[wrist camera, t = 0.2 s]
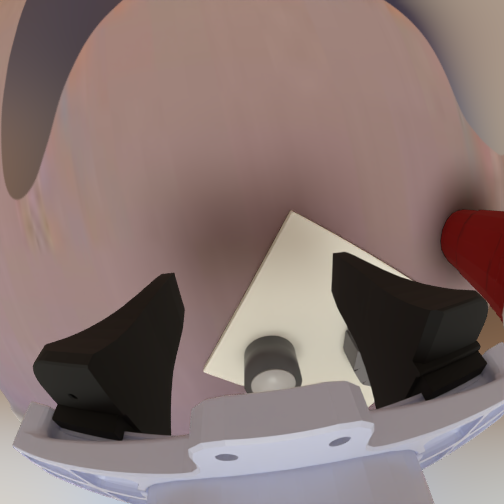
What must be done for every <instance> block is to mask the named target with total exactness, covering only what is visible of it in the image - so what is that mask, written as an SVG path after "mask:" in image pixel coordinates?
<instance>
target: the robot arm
mask: <svg viewBox="0 0 504 504" xmlns="http://www.w3.org/2000/svg"><path fill="white" fill-rule="evenodd" d="M331 292H332V295H333V298H334V300H335V303H336V306H337V308H338V310H339V312H340V314H341V316H342V318H343V320H344V322H345V323H346V325H347V327H348V329H349V331H350V333H351V335H352V337H353V339H354V340H355V342H356V345H357V347H358V349H359V352H360V354H361V357H362V360H363V363H364V366H365V369H366V372H367V375H368V379H369V382H370V386H371V389H372V393H373V397H374V401H375V406H376V409H375V410H369V409H368V406H367V404H366V401H365V399H364V396H363V394H362V391H361V389H360V386H357V385H355V384H353V383H350V382H348V381H330V382H321V383H316V384H311V385H306V386H300V387H294V388H287V389H280V390H273V391H265V392H256V393H247V394H235V395H224V396H220V397H215V398H210V399H206V400H204V401H202V402H201V403H199V404H198V405H197V406H195V407H194V408H193V409H192V411H191V422H190V433H189V434H187V435H180V436H171V390H172V378H173V370H174V364H175V360H176V355H177V351H178V347H179V342H180V338H181V334H182V329H183V322H184V311H185V309H184V305H183V302H182V299H181V295H180V292H179V288H178V285H177V281H176V278H175V274H174V273H168V274H161V275H160V276H158V277H157V278H156V279H155V280H153V281H152V282H151V283H150V284H149V285H148V286H147V287H145V288H144V289H143V290H142V291H141V292H140V293H139V294H137V295H136V296H135V297H134V298H133V299H131V300H130V301H129V302H128V303H126V304H125V305H124V306H123V307H121V308H120V309H119V310H117V311H116V312H115V313H113V314H112V315H110V316H109V317H107V318H105V319H104V320H102V321H100V322H99V323H97V324H95V325H93V326H91V327H90V328H88V329H86V330H84V331H81V332H79V333H77V334H75V335H72V336H70V337H67V338H65V339H62V340H59V341H56V342H52V343H49V344H46V345H45V346H44V348H43V349H42V351H41V352H40V354H39V356H38V357H37V359H36V361H35V362H34V365H33V371H34V374H35V376H36V378H37V380H38V381H39V383H40V384H41V385H42V387H43V388H44V389H45V390H46V391H47V393H48V394H49V395H50V396H51V397H52V398H53V400H54V401H55V402H56V403H57V404H58V405H57V407H56V409H55V410H54V409H53V408H51V407H49V406H46V405H43V404H39V403H36V402H31V403H30V405H29V407H28V409H27V412H26V414H25V416H24V418H23V421H22V423H21V425H20V428H19V430H18V432H17V435H16V437H15V440H14V443H13V448H14V449H16V450H17V451H18V452H19V453H21V454H22V455H23V456H25V457H26V458H27V459H29V460H30V461H31V462H33V463H34V464H36V465H37V466H38V467H40V468H41V469H43V470H44V471H46V472H47V473H49V474H50V475H52V476H54V477H56V478H59V479H61V480H64V481H66V482H68V483H71V484H73V485H76V486H79V487H81V488H84V489H87V490H89V491H92V492H95V493H98V494H101V495H104V496H107V497H110V498H113V499H116V500H120V501H124V502H127V503H131V504H434V501H433V499H432V496H431V493H430V490H429V487H428V485H427V482H426V479H425V477H424V474H423V471H422V470H423V469H425V468H426V467H428V466H430V465H432V464H434V463H435V462H437V461H439V460H441V459H442V458H444V457H446V456H447V455H449V454H450V453H452V452H454V451H455V450H457V449H458V448H460V447H461V446H463V445H464V444H466V443H467V442H469V441H470V440H472V439H473V438H474V437H475V436H477V435H478V434H480V433H481V432H482V431H484V430H485V429H487V428H488V427H489V426H491V425H492V424H493V423H495V422H496V421H497V420H498V419H500V418H501V417H502V416H503V415H504V343H503V342H500V343H499V344H497V345H495V346H494V347H492V348H490V349H488V350H487V351H486V352H485V353H484V354H483V355H481V354H480V353H479V351H478V350H479V349H480V344H479V343H478V342H477V341H476V340H477V338H478V336H479V334H480V332H481V330H482V327H483V325H484V323H485V320H486V317H487V313H488V304H487V302H486V300H485V299H484V298H483V297H482V296H481V295H480V294H479V293H478V292H476V291H473V290H456V289H448V288H441V287H435V286H431V285H426V284H422V283H418V282H415V281H412V280H409V279H406V278H403V277H400V276H397V275H395V274H392V273H390V272H388V271H386V270H383V269H381V268H379V267H377V266H375V265H373V264H371V263H369V262H367V261H365V260H363V259H361V258H359V257H357V256H355V255H353V254H350V253H348V252H338V253H333V261H332V285H331Z"/></svg>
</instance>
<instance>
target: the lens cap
mask: <svg viewBox="0 0 504 504" xmlns="http://www.w3.org/2000/svg"><path fill="white" fill-rule="evenodd" d="M301 384H302V376H301V372H300V368H299V364H298V360H297V356H296V352H295V348H294V346H293V345H292V343H291V342H290V341H288V340H287V339H285V338H283V337H280V336H264V337H260V338H258V339H256V340H254V341H253V342H251V343H250V344H249V345H248V346H247V348H246V350H245V353H244V387H245V390H246V392H247V393H256V392H265V391H273V390H280V389H287V388H294V387H300V386H301Z"/></svg>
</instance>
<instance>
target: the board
mask: <svg viewBox="0 0 504 504" xmlns="http://www.w3.org/2000/svg"><path fill="white" fill-rule="evenodd" d="M338 252H348V253H350V254H353V255H355V256H357V257H359V258H361V259H363V260H365V261H367V262H369V263H371V264H373V265H375V266H377V267H379V268H381V269H383V270H386V271H388V272H390V273H392V274H395V275H397V276H400V277H403V278H406V279H409V280H411V279H410V278H408V277H407V276H405V275H403V274H402V273H400V272H399V271H397V270H395V269H394V268H392V267H391V266H389V265H387V264H386V263H384V262H382V261H381V260H379V259H377V258H376V257H374V256H372V255H371V254H369V253H367V252H365V251H364V250H362V249H360V248H359V247H357V246H355V245H353V244H352V243H350V242H348V241H346V240H345V239H343V238H341V237H339V236H338V235H336V234H334V233H332V232H331V231H329V230H327V229H325V228H323V227H321V226H320V225H318V224H316V223H314V222H312V221H310V220H309V219H307V218H305V217H303V216H301V215H299V214H297V213H295V212H294V211H292V210H290V212H289V214H288V216H287V218H286V220H285V221H284V223H283V225H282V227H281V229H280V231H279V233H278V234H277V236H276V238H275V240H274V242H273V244H272V246H271V247H270V249H269V251H268V253H267V255H266V257H265V258H264V260H263V262H262V264H261V266H260V268H259V269H258V271H257V273H256V275H255V277H254V278H253V280H252V282H251V284H250V286H249V288H248V289H247V291H246V293H245V295H244V297H243V298H242V300H241V302H240V304H239V306H238V307H237V309H236V311H235V313H234V315H233V316H232V318H231V320H230V322H229V324H228V325H227V327H226V329H225V331H224V332H223V334H222V336H221V338H220V340H219V341H218V343H217V345H216V347H215V348H214V350H213V352H212V354H211V356H210V357H209V359H208V361H207V363H206V364H205V366H204V370H203V372H205V373H208V374H210V375H213V376H216V377H219V378H222V379H224V380H227V381H230V382H233V383H236V384H239V385H242V386H244V353H245V350H246V348H247V346H248V345H249V344H250V343H251V342H253V341H254V340H256V339H258V338H260V337H264V336H280V337H283V338H285V339H287V340H288V341H290V342H291V343H292V345H293V346H294V348H295V352H296V356H297V360H298V364H299V368H300V372H301V376H302V384H301V386H306V385H311V384H316V383H321V382H330V381H348V382H350V383H353V384H355V385H357V386H360V389H361V391H362V394H363V396H364V399H365V401H366V404H367V406H368V407H369V406H370V405H371V404H372V403H373V402H374V397H373V393H372V389H371V386H370V382H369V379H368V375H367V372H366V369H365V366H364V363H363V360H362V357H361V354H360V352H359V349H358V347H357V345H356V342H355V340H354V339H353V337H352V335H351V333H350V331H349V329H348V327H347V325H346V323H345V322H344V320H343V318H342V316H341V314H340V312H339V310H338V308H337V306H336V303H335V300H334V298H333V295H332V292H331V285H332V261H333V253H338ZM412 281H413V280H412Z"/></svg>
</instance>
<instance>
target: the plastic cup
mask: <svg viewBox="0 0 504 504" xmlns="http://www.w3.org/2000/svg"><path fill="white" fill-rule="evenodd" d="M441 247H442V251H443V253H444V255H445V257H446V258H447V260H448V261H449V262H450V263H451V264H452V265H453V266H454V267H455V268H456V269H457V270H458V271H459V272H460V274H461V275H462V276H463V277H464V278H465V279H466V280H467V281H468V282H469V283H470V284H471V285H472V286H473V287H474V288H475V289H476V290H477V291H478V292H479V293H480V294H481V295H482V296H483V297H484V299H485V300H486V301H487V302H488V303H489V304H490V306H491V307H492V309H493V310H494V311H495V312H496V314H497V315H498V316H499V317H500V318H501V321H502V322H503V325H504V211H490V210H478V211H475V210H458V211H456V212H454V213H452V215H451V216H450V217H449V218H448V219H447V221H446V223H445V225H444V228H443V230H442V236H441Z"/></svg>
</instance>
